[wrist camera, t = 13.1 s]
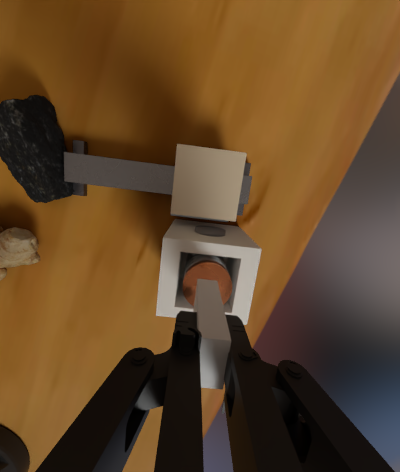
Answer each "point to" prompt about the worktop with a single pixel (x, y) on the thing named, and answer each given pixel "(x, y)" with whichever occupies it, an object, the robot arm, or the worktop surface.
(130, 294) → the worktop surface
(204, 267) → the copper knob
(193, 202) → the carriage
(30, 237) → the ginger root
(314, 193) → the worktop surface
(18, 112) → the rock
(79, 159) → the rail
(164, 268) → the white square housing
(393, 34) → the worktop surface
